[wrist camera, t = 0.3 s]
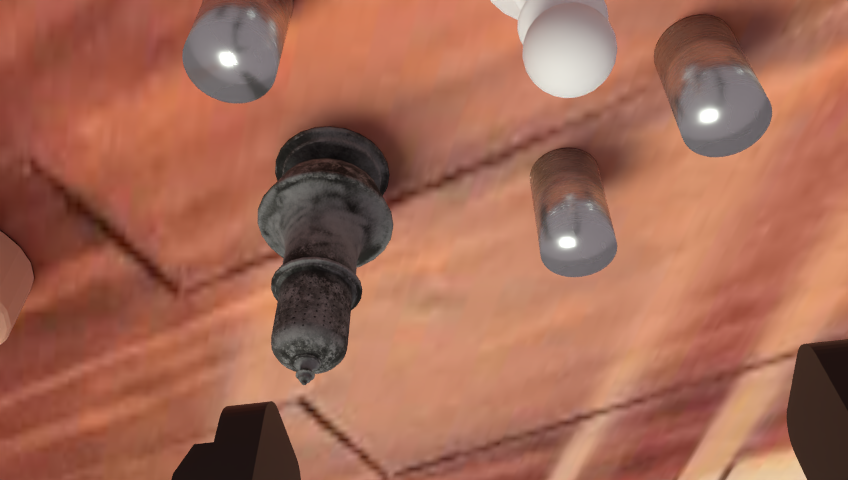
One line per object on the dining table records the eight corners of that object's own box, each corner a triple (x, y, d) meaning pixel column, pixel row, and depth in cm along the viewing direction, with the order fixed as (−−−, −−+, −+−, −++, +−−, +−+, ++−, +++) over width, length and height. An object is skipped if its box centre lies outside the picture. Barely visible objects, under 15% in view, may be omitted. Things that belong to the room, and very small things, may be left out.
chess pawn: (485, -134, 28) (502, -13, 22) (627, -121, 28) (686, 2, 22) (467, -1, 32) (478, 138, 25) (594, 9, 32) (636, 149, 25)
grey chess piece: (280, 107, 35) (232, 317, 26) (410, 139, 36) (405, 350, 28) (259, 204, 39) (211, 415, 30) (377, 230, 40) (363, 440, 31)
